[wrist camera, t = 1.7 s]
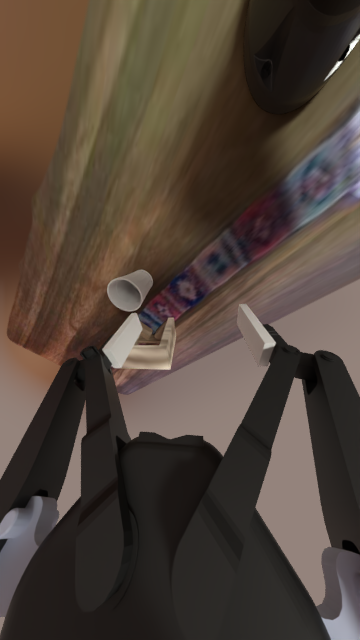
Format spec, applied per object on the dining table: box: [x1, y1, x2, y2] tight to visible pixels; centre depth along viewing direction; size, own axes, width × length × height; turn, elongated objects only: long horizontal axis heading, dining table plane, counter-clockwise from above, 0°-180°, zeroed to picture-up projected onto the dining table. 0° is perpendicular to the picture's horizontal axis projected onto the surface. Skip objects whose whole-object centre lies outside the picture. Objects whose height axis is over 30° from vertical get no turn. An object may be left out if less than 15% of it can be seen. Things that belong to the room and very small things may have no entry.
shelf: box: [121, 318, 176, 370], centre depth 42 cm, size 8×16×15 cm, turn 95°
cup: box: [107, 270, 153, 311], centre depth 34 cm, size 8×8×12 cm
